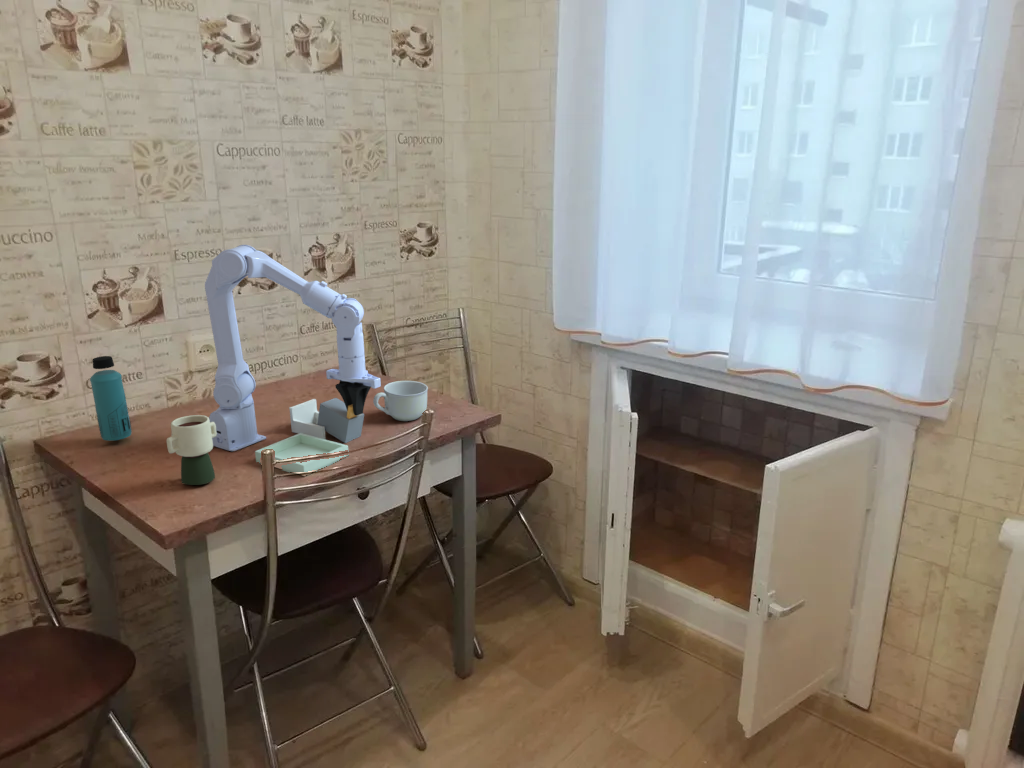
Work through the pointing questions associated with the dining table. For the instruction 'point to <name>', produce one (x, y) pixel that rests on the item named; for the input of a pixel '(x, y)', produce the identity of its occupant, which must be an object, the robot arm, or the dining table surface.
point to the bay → (306, 419)
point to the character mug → (193, 447)
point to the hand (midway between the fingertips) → (355, 413)
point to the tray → (304, 452)
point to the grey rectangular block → (340, 420)
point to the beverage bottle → (110, 401)
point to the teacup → (403, 400)
